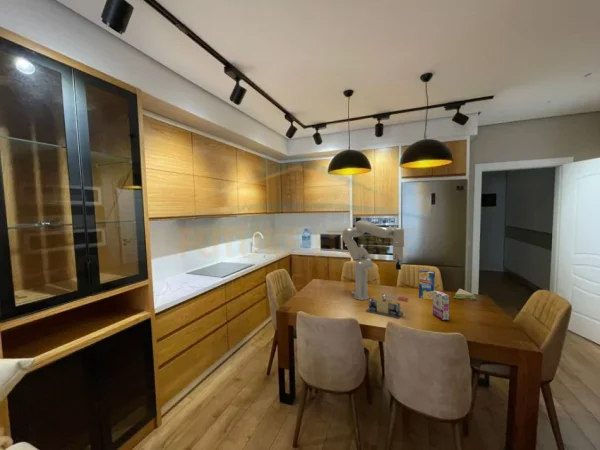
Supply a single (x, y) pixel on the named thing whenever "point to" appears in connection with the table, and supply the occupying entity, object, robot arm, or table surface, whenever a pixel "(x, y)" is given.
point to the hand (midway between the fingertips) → (398, 269)
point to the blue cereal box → (426, 284)
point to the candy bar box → (441, 305)
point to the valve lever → (395, 298)
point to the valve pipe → (384, 308)
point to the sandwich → (464, 295)
